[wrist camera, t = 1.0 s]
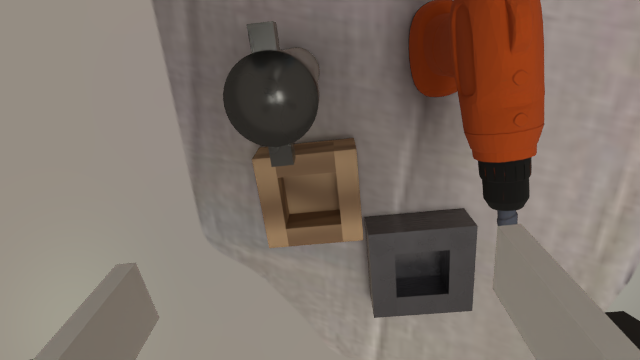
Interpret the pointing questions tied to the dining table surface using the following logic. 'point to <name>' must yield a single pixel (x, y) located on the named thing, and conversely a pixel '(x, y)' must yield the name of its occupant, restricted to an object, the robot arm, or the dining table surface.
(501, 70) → the toy drill
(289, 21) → the dining table surface
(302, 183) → the wooden square frame
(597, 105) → the dining table surface
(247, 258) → the dining table surface
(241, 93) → the dark grey tall piece
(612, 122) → the dining table surface
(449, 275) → the block
